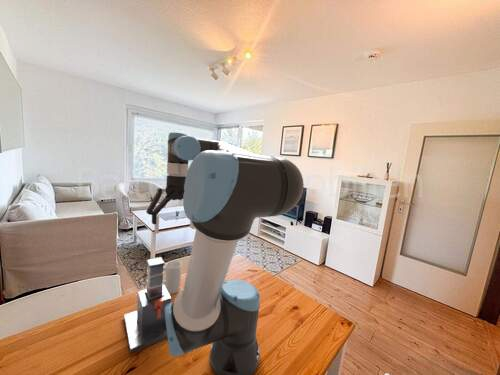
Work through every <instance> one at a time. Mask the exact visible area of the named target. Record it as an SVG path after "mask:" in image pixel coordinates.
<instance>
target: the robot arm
mask: <svg viewBox="0 0 500 375" xmlns="http://www.w3.org/2000/svg"><path fill="white" fill-rule="evenodd" d="M190 161H191V163H190V165H189V162H190ZM166 162H167V166H166V167H167V168H166V174H167V175H166V184H165V185H166V186H165V188H162V187H157V188H156V194H155V195H154V197H153V199H152V200H151V202H150V204H149V205H148V207H147V209H146V214H148V215H151V223H152V225H154V227H153V228H154V233H155V234H157V235H158V234H159V232H160V229H159V228H160V225H159V224H160V216H159V213H160V212H161V211H162V210H163V209H164V207H165V206H166V205H168V204H169V202H171V201H176V200H177V201H182V203H183V210H184V214H185V216H186V218H187V219H188V220H189V228H190V229H192V230H195V232H194V238H193V242H192V248H191V251H190V256H189V262H188V266H187V271H186V274H185V276H186V277H185V278H184V279H185V280H184V284H183V289H182V290H181V291H179V293H178V294H177V296H175V299H174V301H171V303H170V304H168V305H166V306H165V320H166V329H167V338H166V339H167V344H168V352H169V354H170V355H171V356H172V357H179V356H181V355H184V356H185V355H187V354H188V353H189V352H193V351H194V350H198V349H200V348H203V347H205V346H208V345H211V346H210V351H209V364H210V366H211V369H212V371H213V372H214V374H215V375H254V374H255V372H257V371H256V370H257V368H258V366H259V363H260V347H259V343H258V338H257V328H258V319H259V318H258V317H259V310H260V307H261V304H260V301H261V300H260V299H261V297H260V292H259V290H258V289H257V287H256V286H254V284H252V283H250V282H248V281H246V280H242V279H237V278H235V279H228V280H226V277H227V274H228V271H229V268H230V265H231V263H232V259H233V257H234V254H235V251H236V249H237V246H238V243H239V241H240V240H243V239H244V238H246V237H247V236H248V235H249V233H250V232H251V229H252V226H253V224H254V222H255V219H257V218H268V217H269V218H270V217H277V216H281V215H284V214H287V213H288V212H289V211H291V210H292V209H294V207H296V206H297V205H298V203H299V201H300V200H301V198H302V196H303V192H304V187H305V186H304V178H303V175H302V172H301V170H300V169H299V168H298V166H297V165H296V164H295V163H293V162H292V161H290V160H289V159H286V158H283V157H280V156H274V155H273V156H272V155H263V154H256V153H254V152H251V151H248V150H246V149H243V148H240V147H238V145H237V144H236V143H233V142H229V141H219V140H211V139H206V138H205V139H204V138H197V137H194V136H192V135H189V134H187V133H183V132H179V131H172V132H170V133H168V137H167V161H166ZM164 193H165V194H166V195H165V196H164V198H163V199H162V201H160V199H161V197H162V195H164ZM159 201H160V202H159ZM158 202H159V203H158Z"/></svg>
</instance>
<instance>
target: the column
mask: <svg viewBox="0 0 500 375" xmlns="http://www.w3.org/2000/svg"><path fill="white" fill-rule="evenodd" d="M146 265H147V270H146V273H147V276H146V289H147V292H146V294H147V301H151V300H155V299H158V298H161V297H163V295H162V286H163V280H164V274H165V273H164V270H163V267H164V266H165V265H166V263H165V261H164V259H163V257H162V256H159V257H154V258H150V259H146Z"/></svg>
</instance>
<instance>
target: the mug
mask: <svg viewBox="0 0 500 375" xmlns="http://www.w3.org/2000/svg"><path fill="white" fill-rule="evenodd" d="M182 265H183V263H182V261H180V260H171V261H168V262H166V263H165V265H164V266H163V272H165V273H164V274H165V277H164V279H163V284H164V285H165V287H166V289H167V291H168V292H169V294H170V295H172V294H173V295H174V294H177V293H178V292H180V290H181V283H182V282H181V278H182V268H183V267H182Z"/></svg>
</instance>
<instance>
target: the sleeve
mask: <svg viewBox="0 0 500 375" xmlns="http://www.w3.org/2000/svg"><path fill="white" fill-rule="evenodd" d="M146 292H147V288H145V289H142V290H139V291H137V309H136V310H134V311H131V312H128V313H125V314H123V321H124V326H125V331H126V337H127V342H128V347H129V354H133V353H135V352H138V351H140V350H143V349H145V348H147V347H150V346H152V345H155V344H157V343H159V342H162V341H164V340H166V339H168V338H167V329H166V320H165V306H166V305H168V304H170V303H171V302H172V296H171V294H169V292H168V291H167V289H166V287H165V285H164V284H163V286H162V295H163V297H161V298H158V299H155V300H151V301H147V294H146Z"/></svg>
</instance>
